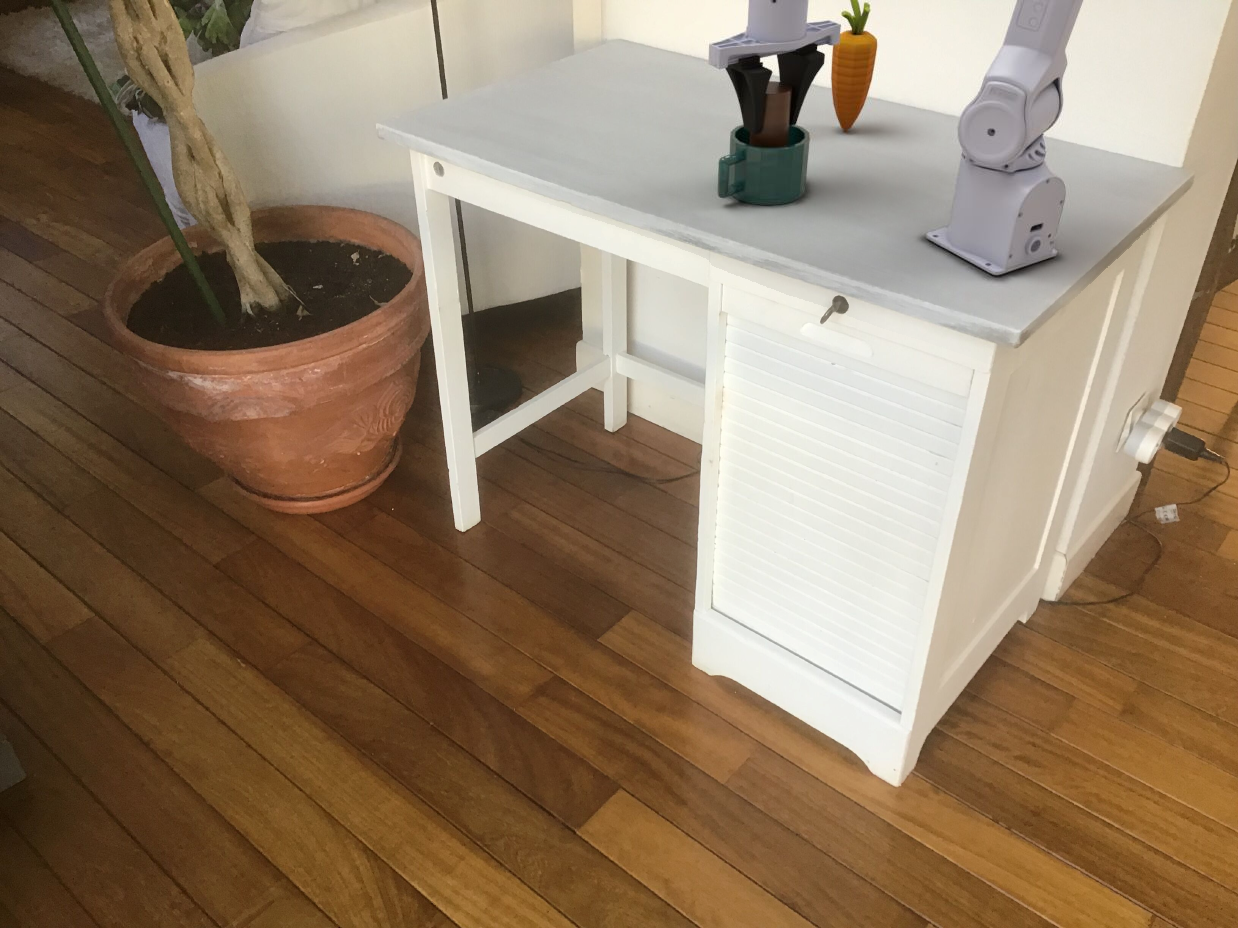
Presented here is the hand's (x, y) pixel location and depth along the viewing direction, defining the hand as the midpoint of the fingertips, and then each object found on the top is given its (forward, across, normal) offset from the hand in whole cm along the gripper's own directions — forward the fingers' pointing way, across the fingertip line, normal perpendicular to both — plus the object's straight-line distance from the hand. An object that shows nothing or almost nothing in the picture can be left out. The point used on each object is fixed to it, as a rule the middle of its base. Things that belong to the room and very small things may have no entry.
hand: (770, 126), depth 106 cm
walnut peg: (+2, 0, 0) cm, 2 cm away
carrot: (+7, -18, -9) cm, 21 cm away
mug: (+7, +1, 0) cm, 7 cm away
